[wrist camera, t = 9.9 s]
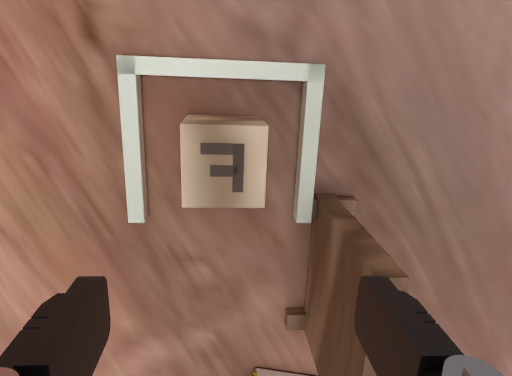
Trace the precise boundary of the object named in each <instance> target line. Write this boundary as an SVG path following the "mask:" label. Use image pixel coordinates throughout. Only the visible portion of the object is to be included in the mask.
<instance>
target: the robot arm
mask: <svg viewBox="0 0 512 376" xmlns="http://www.w3.org/2000/svg"><path fill="white" fill-rule="evenodd" d="M354 326H355V332H356V335H357V337H358V339H359V341H360V343H361V345H362V347H363V349H364V351H365V353H366V355H367V357H368V359H369V361H370V363H371V365H372V367H373V369H374V371H375V373H376V375H377V376H504V375H503V374H502V373H501V372H499V371H498V370H497V369H496V368H494V367H493V366H491V365H490V364H488V363H486V362H484V361H482V360H480V359H477V358H474V357H471V356H466V355H464V354H463V353H462V352H461V351H460V350H459V348H458V347H457V346H456V345H455V344H454V342H453V341H452V340H451V339H450V338H449V337H448V335H447V334H446V333H445V332H444V331H443V329H442V328H441V327H440V326H439V325H438V324H436V322H435V320H434V319H433V318H432V317H431V315H430V314H428V313H427V311H426V309H425V308H424V307H423V306H422V305H421V304H420V302H419V301H418V300H416V299H415V298H413V297H412V296H410V295H409V294H407V293H406V292H404V291H399V290H398V289H397V288H396V287H395V285H394V284H393V283H392V282H391V280H390V279H389V278H388V277H387V276H385V275H372V276H362V277H361V278H360V281H359V287H358V294H357V300H356V307H355V314H354ZM109 332H110V310H109V299H108V288H107V280H106V278H105V277H104V276H79V277H77V278H76V279H75V281H74V282H73V283H72V285H71V286H70V288H69V289H68V290H67V292H66V293H57V294H56V295H54V296H53V297H51V298H50V299H48V300H47V301H46V302H44V303H43V304H41V305H40V307H39V308H38V309H37V311H36V312H35V313H34V314H33V316H32V317H31V319H29V321H28V322H27V323H26V324H25V326H24V327H23V330H21V331H20V332H19V333H18V335H17V336H16V337H15V338H14V340H13V341H12V342H11V343H10V345H9V346H8V347H7V348H6V350H5V351H4V352H3V353H2V355H1V356H0V376H92V375H93V372H94V370H95V368H96V366H97V363H98V361H99V359H100V356H101V354H102V352H103V350H104V347H105V345H106V343H107V340H108V337H109Z"/></svg>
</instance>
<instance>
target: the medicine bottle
mask: <svg viewBox="0 0 512 376" xmlns="http://www.w3.org/2000/svg"><path fill="white" fill-rule="evenodd" d="M252 376H308V375H301V374H294V373H287V372H280V371H274V370H267V369H260V368H256V369H255V370H254V372H253V375H252Z"/></svg>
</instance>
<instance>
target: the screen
mask: <svg viewBox="0 0 512 376" xmlns="http://www.w3.org/2000/svg"><path fill="white" fill-rule="evenodd" d="M356 203H357V200H356V199H355V198H354V197H353V196H335V195H334V194H315V196H313V206H312V217H311V218H312V228H311V239H310V249H309V260H308V271H307V282H306V292H305V303H304V308H286V315H285V325H286V329H287V330H305V334H306V337H307V340H308V343H309V346H310V349H311V352H312V356H313V359H314V362H315V365H316V368H317V371H318V375H319V376H377V375H376V373H375V371H374V369H373V367H372V365H371V363H370V361H369V359H368V357H367V355H366V353H365V351H364V349H363V347H362V345H361V343H360V341H359V339H358V337H357V335H356V332H355V326H354V314H355V307H356V300H357V294H358V287H359V281H360V278H361V277H362V276H372V275H385V276H387V277H388V278H389V279H390V280H391V282H392V283H393V284H394V285H395V287H396V288H397V289H398V290H399V291H404V292H407V287H408V281H409V277H408V276H407V275H406V274H405V272H404V271H403V270H402V269H401V268H400V267H399V266H398V265H397V264H396V263H395V261H394V260H393V259H392V258H391V257H390V256H389V255H388V254H387V253H386V251H385V250H384V249H383V248H382V247H381V246H380V245H379V244H378V243H377V242H376V240H375V239H374V238H373V237H372V236H371V235H370V234H369V233H368V232H367V231H366V229H365V228H364V227H363V226H362V225H361V224H360V223H359V222H358V221H357V219H356V218H355V211H356Z"/></svg>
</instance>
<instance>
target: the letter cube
mask: <svg viewBox="0 0 512 376" xmlns="http://www.w3.org/2000/svg"><path fill="white" fill-rule="evenodd" d="M268 128H269V126H268V125H267V124H266V123H265V121H264V120H263V119H262V118H261V117H260V116H240V115H206V114H187V116H186V117H185V118H184V119H183V121H182V122H181V123H180V149H181V189H182V208H265V189H266V169H267V149H268Z"/></svg>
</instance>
